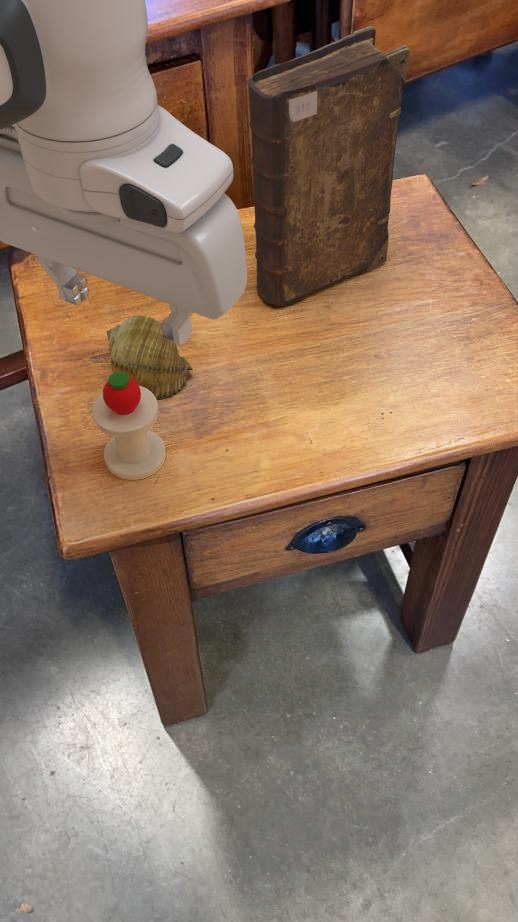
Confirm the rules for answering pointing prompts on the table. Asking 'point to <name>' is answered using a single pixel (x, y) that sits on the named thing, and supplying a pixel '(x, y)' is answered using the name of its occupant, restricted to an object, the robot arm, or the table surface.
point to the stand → (131, 438)
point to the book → (324, 164)
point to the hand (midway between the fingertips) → (126, 317)
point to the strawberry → (121, 393)
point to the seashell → (147, 356)
